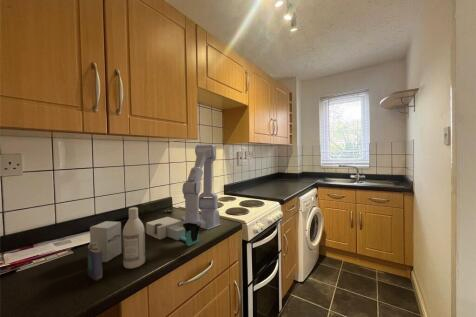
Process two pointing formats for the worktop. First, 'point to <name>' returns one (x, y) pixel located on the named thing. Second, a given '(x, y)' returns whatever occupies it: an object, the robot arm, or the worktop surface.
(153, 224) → the housing
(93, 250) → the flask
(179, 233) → the cartridge
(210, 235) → the worktop surface
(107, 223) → the supplement box
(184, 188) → the robot arm
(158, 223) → the plunger
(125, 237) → the bath foam
